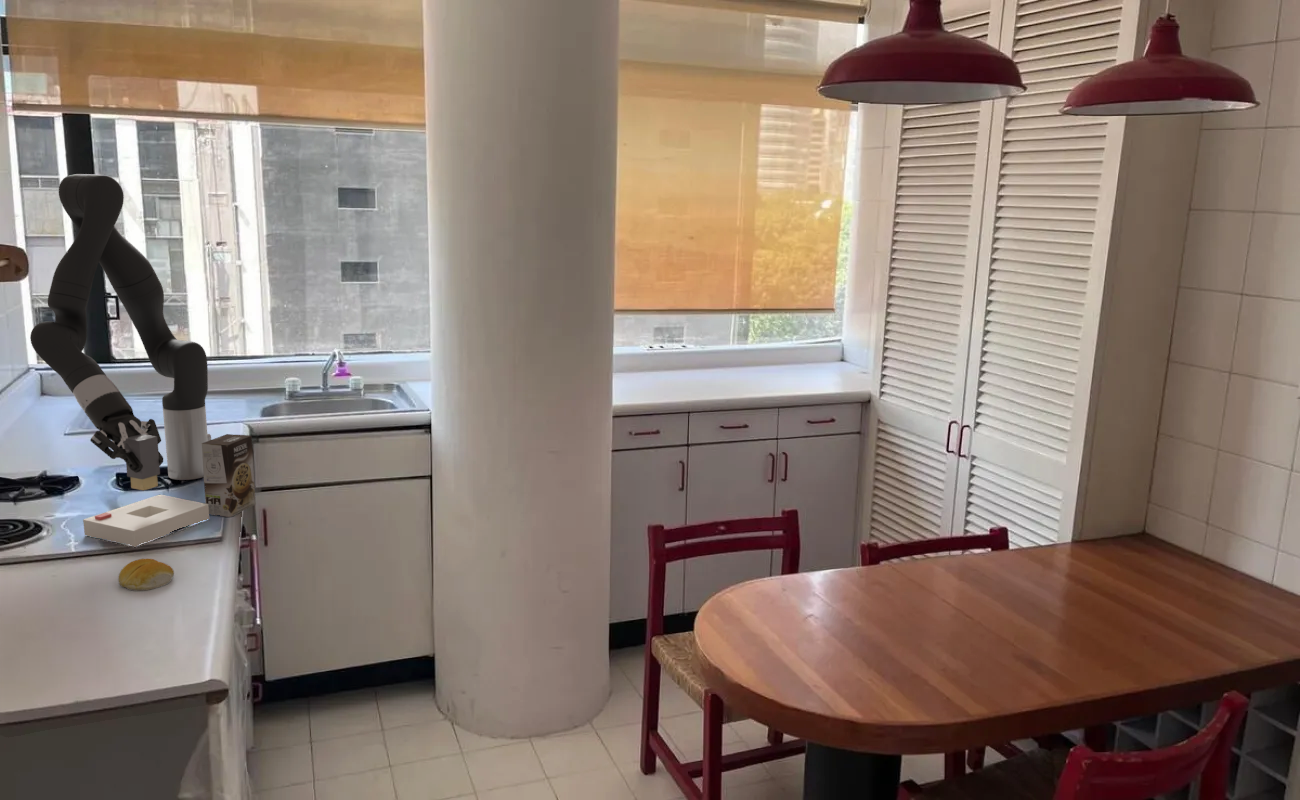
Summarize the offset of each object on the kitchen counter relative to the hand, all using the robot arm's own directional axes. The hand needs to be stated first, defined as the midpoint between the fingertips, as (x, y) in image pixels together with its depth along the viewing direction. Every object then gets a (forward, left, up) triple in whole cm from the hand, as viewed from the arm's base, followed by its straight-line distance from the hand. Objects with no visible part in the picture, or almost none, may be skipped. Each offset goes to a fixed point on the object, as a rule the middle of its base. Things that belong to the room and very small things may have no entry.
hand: (149, 466), depth 190 cm
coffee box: (-16, +4, -14) cm, 21 cm away
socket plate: (0, -2, -13) cm, 14 cm away
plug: (0, -2, -5) cm, 5 cm away
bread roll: (+19, +20, -14) cm, 31 cm away
